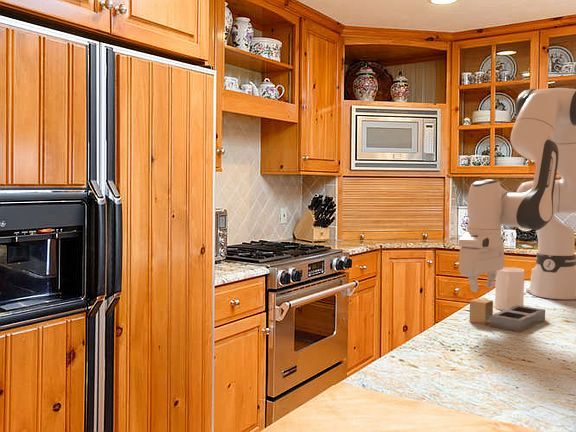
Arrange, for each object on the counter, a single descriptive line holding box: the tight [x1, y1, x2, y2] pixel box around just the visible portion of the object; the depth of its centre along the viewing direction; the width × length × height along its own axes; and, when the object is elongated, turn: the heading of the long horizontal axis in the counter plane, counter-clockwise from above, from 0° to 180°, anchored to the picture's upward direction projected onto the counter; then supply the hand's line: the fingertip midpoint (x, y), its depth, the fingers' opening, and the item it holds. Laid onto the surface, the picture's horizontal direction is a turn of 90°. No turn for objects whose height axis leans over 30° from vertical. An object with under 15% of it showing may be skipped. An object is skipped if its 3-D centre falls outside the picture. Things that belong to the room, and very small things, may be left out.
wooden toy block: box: [469, 297, 494, 326], centre depth 152 cm, size 4×4×6 cm
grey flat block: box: [489, 305, 546, 333], centre depth 150 cm, size 17×8×3 cm, turn 135°
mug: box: [493, 266, 525, 311], centre depth 167 cm, size 12×8×12 cm
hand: (482, 289), depth 151 cm, fingers open, 8 cm apart
